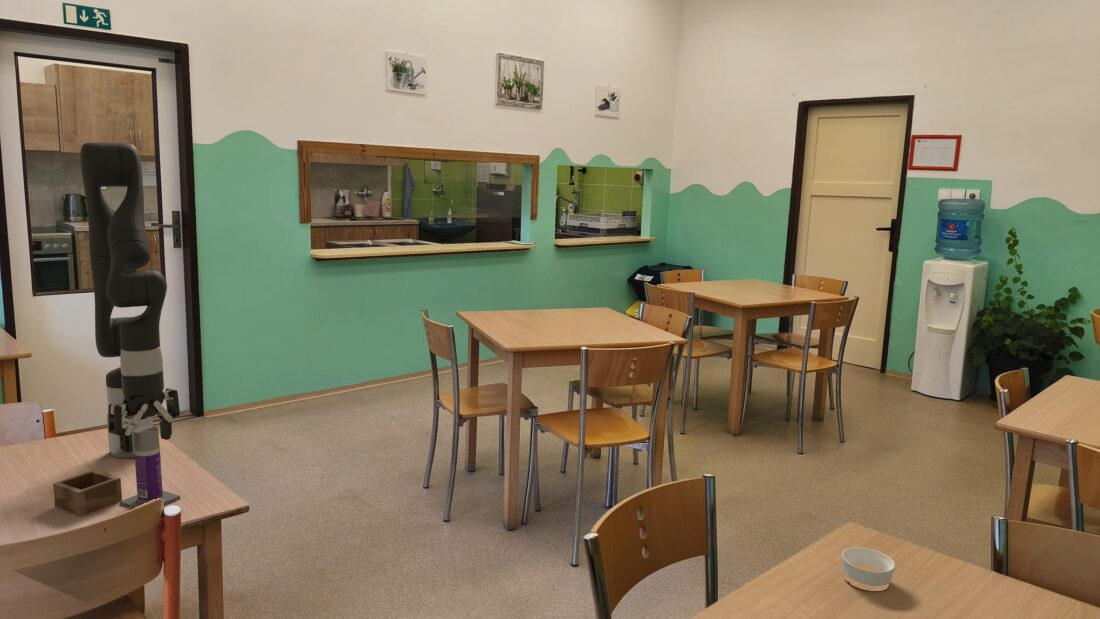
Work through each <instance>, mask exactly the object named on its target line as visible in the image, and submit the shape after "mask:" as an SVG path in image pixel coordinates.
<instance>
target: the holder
mask: <svg viewBox="0 0 1100 619" xmlns="http://www.w3.org/2000/svg"><path fill="white" fill-rule="evenodd" d="M52 486H53V487H52V489H53V500H54V501H53V502H54V507H55V508H57V509H59V510H60V509H61V510H62V511H64V512H65V511H66V512H68V513H71V514H73V515H77V516H79V517H83V516H85V515H89V514H91V513H93V511H94V512H97V511H99V510H101V509H105V508H106V506H107V507H109V506H112V505H114V503H115V504H117V503H120V501H122V500H123V497H122V496H123V495H122V493H123V492H122V480H121V477H119V476H116V475H113V474H110V473H105V472H102V471H100V470H96V469H93V470H89V471H86V472H84V473H83V472H82V473H81V474H77V475H75V476H71V477H69V478H66V479H63V480H60V481H59V480H58V481H57V482H56V481H55V482H53V483H52ZM111 504H112V505H111ZM90 512H91V513H90ZM88 513H89V514H88Z"/></svg>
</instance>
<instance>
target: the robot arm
mask: <svg viewBox="0 0 1100 619" xmlns="http://www.w3.org/2000/svg"><path fill="white" fill-rule="evenodd" d="M79 155H80V159H79V160H80V161H79V162H80V168H81V176H82V182H83V190H84V191H83V192H84V196H85V201H86V202H85V204H86V211H87V220H88V222H87V223H88V241H89V242H88V244H89V246H88V247H89V258H90V268H91V269H90V270H91V277H92V283H93V284H92V286H93V294H94V334H95V335H94V336H95V346H96V349H97V353H98V355H99V356H101V357H102V358H118V357H120V358H119V362H120V365H119V367H117V368H115V369H113V370H112V369H111V370H110V371H108V372H107V374H106V375H105V385H106V386H105V387H106V399H107V411H108V412H107V415H106V423H107V437H108V449H109V450H108V452H110V454H111V456H112V457H114V458H119V459H130V458H135V453H134V430H135V429H137V428H140V427H145V426H154V422H153V421H154V420H153V417H155V416H156V417H157V418H158V419H159V420H160V421H159V431H160V432H159V433H160V439H162V440H165V441H168V440H170V439H171V436H172V435H173V428H172V427H173V426H172V424H173V423H172V422H173V420H174V419H175V418H178V417H180V416H181V411H180V401H179V393H178V390H177V389H172V388H169V387H168V388H165V381H164V362H163V354H162V349H161V336H160V335H161V334H160V325H161V324H160V323H161V315H162V310H163V306H164V302H165V298H166V296H167V291H168V290H167V289H168V284H167V281H166V278H165V276H164V275H163V273H161V272H160V271H158V270H153V269H152V270H139V269H141V268H143V267H145V266H147V265H148V264H149V263H150V261H151V251H150V250H151V249H150V247H149V240H148V236H147V230H146V222H145V199H144V198H145V196H144V195H145V194H144V193H145V192H144V180H143V179H144V178H143V177H144V176H143V168H142V161H141V156H140V152H139V150H138V148H137V147H136V146H135V145H134V144H132V143H127V142H126V143H124V142H86V143H83V144H82V145H81V148H80V154H79ZM103 187H108V188H109V187H110V188H111V187H115V188H116V187H120V188H121V187H126V192H125V196H124V197H123V200H122V202H121V203H120V204H119V206H118V207H117V208H116V210H115V211H113V210H112V208H111V207H110V205H109V204H108V202H107V200H106V199H105V197H104V195H103V193H102V188H103ZM115 307H116V308H123V309H124V308H134V307H135V308H137V307H146V308H145V310H144V311H143V312H142V313H141V314H138V315H135V316H128V317H127V316H125V317H122V316H121V317H111V316H112V314H113V310H114V308H115ZM164 389H165V390H164ZM164 401H165V404H166V408H165V407H164V406H163V403H164Z"/></svg>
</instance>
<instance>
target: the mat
mask: <svg viewBox="0 0 1100 619" xmlns="http://www.w3.org/2000/svg"><path fill="white" fill-rule="evenodd" d="M162 499H163V500H164V505H163V506H166V505H168V504H170V503H173V502H176V501H178V500H180V499H181V495H179V494H175V493H173V492H169V491H166V490H163V497H162ZM142 504H144V503H141V502H139V501H138V497H137V494H135V495H133V496H130V497H128V498H126V499H122V501H120V502H119V505H121V506H124V505H125V506H124V507H127V508H130V507H131V508H130V509H133V508H135V507H137V506H140V505H142Z"/></svg>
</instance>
